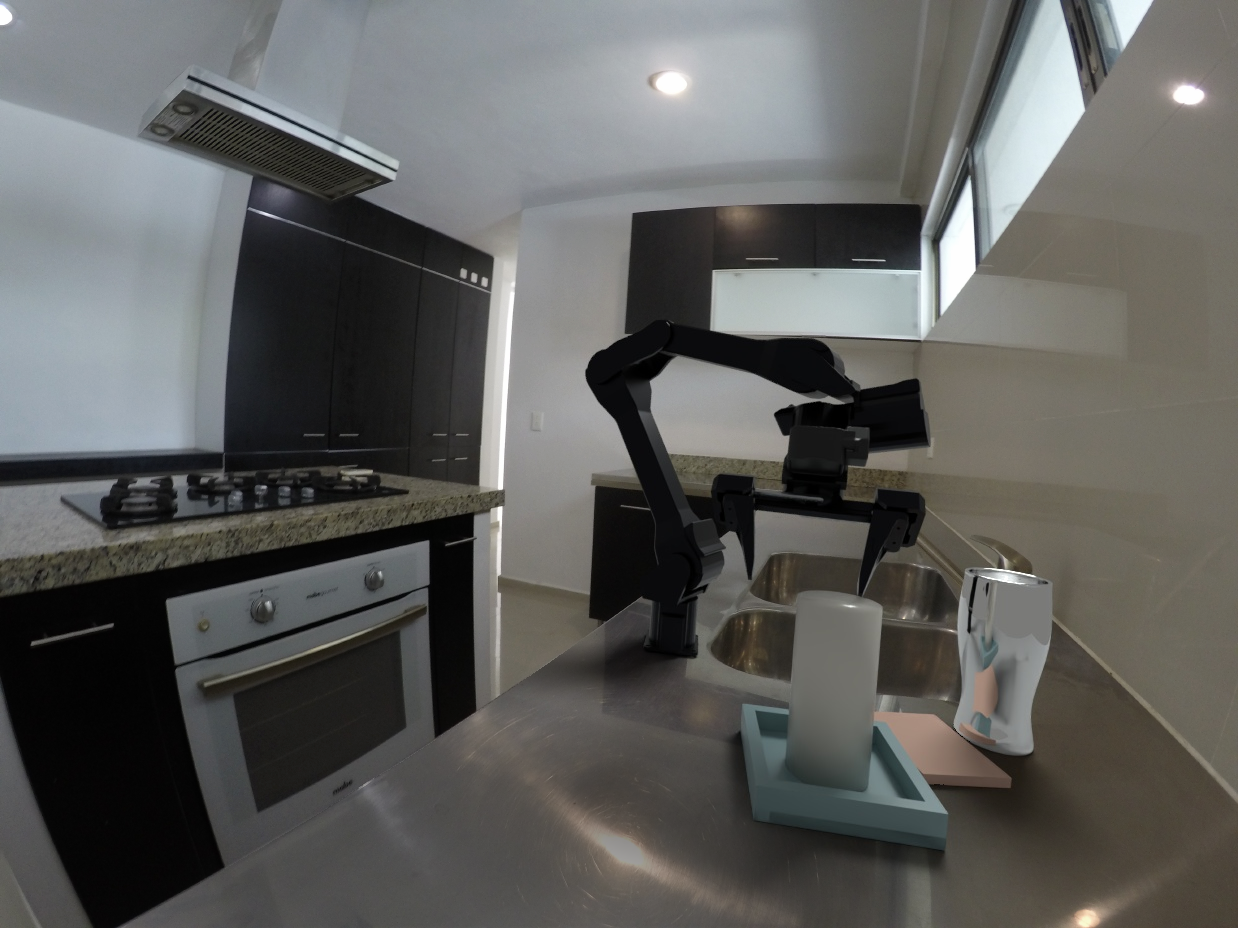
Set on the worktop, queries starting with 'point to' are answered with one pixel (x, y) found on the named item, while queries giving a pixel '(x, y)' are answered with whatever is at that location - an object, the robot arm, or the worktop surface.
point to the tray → (880, 812)
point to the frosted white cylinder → (833, 689)
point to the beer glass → (1001, 656)
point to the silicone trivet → (942, 752)
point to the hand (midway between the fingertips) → (803, 586)
